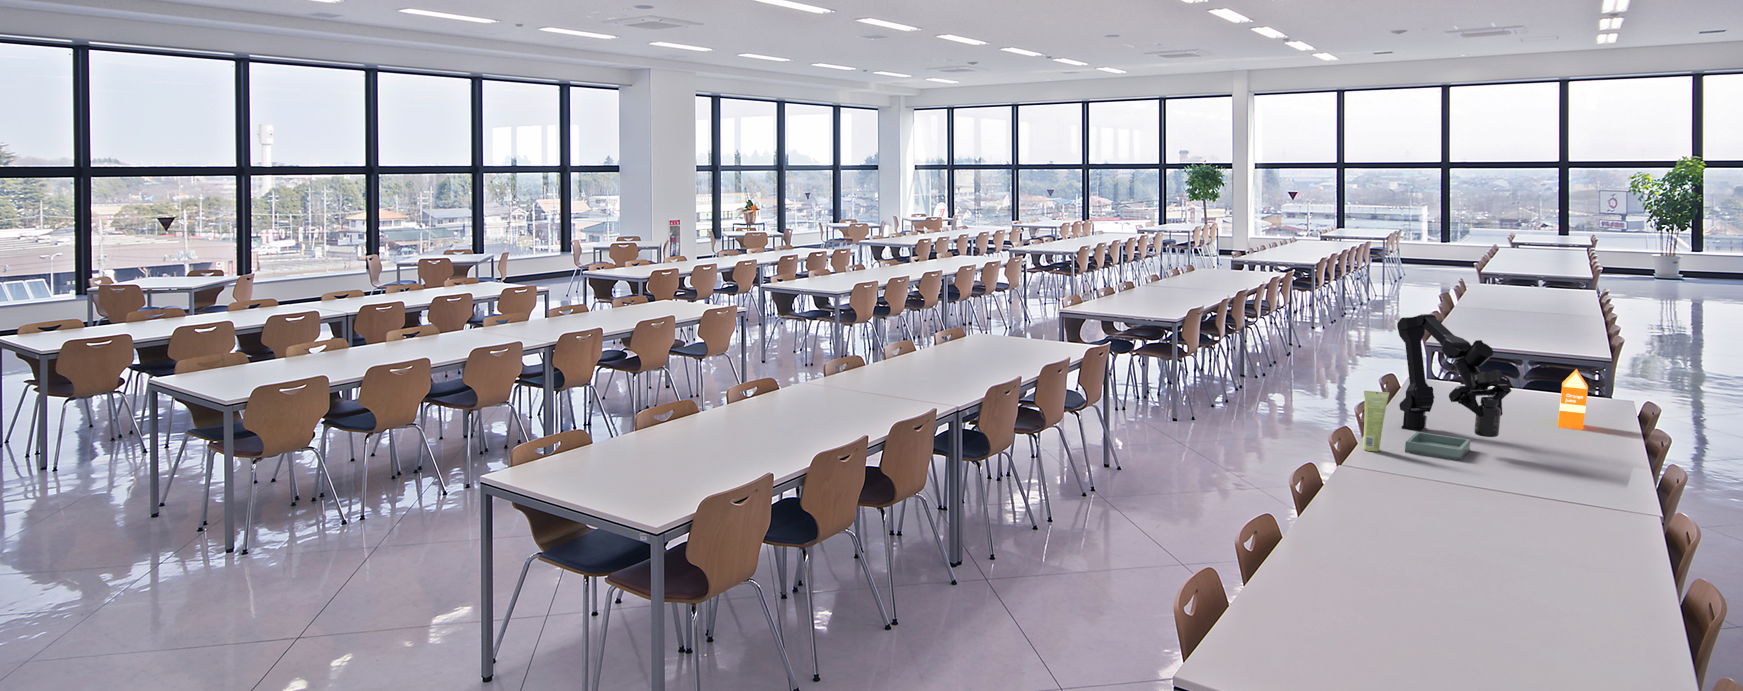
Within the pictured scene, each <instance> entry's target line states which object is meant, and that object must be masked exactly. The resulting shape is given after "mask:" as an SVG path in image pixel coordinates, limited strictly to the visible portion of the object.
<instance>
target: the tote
mask: <svg viewBox="0 0 1743 691" xmlns="http://www.w3.org/2000/svg"><path fill="white" fill-rule="evenodd" d="M1471 441H1472V440H1471V439H1469V438H1463V437H1457V436H1456V437H1455V436H1447V435H1442V434H1434V433H1427V432H1422V431H1416V432H1415V433H1414V434H1413V435H1412V436H1410V437H1409V438H1408V439H1407V440H1406V441H1405V443H1404V445H1405V446H1404V453H1407V452H1409V454H1414V453H1415V454H1416V455H1420V454H1421V456H1427V457H1433V456H1434V458H1440V457H1441V459H1446V458H1447V459H1448V460H1452V461H1453V460H1454V461H1459V460H1460V461H1461V460H1462V459H1463V458H1464V457H1465V456H1466V455H1465V454H1468V453H1469V451H1471V448H1470V447H1471ZM1415 454H1414V455H1415Z"/></svg>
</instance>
